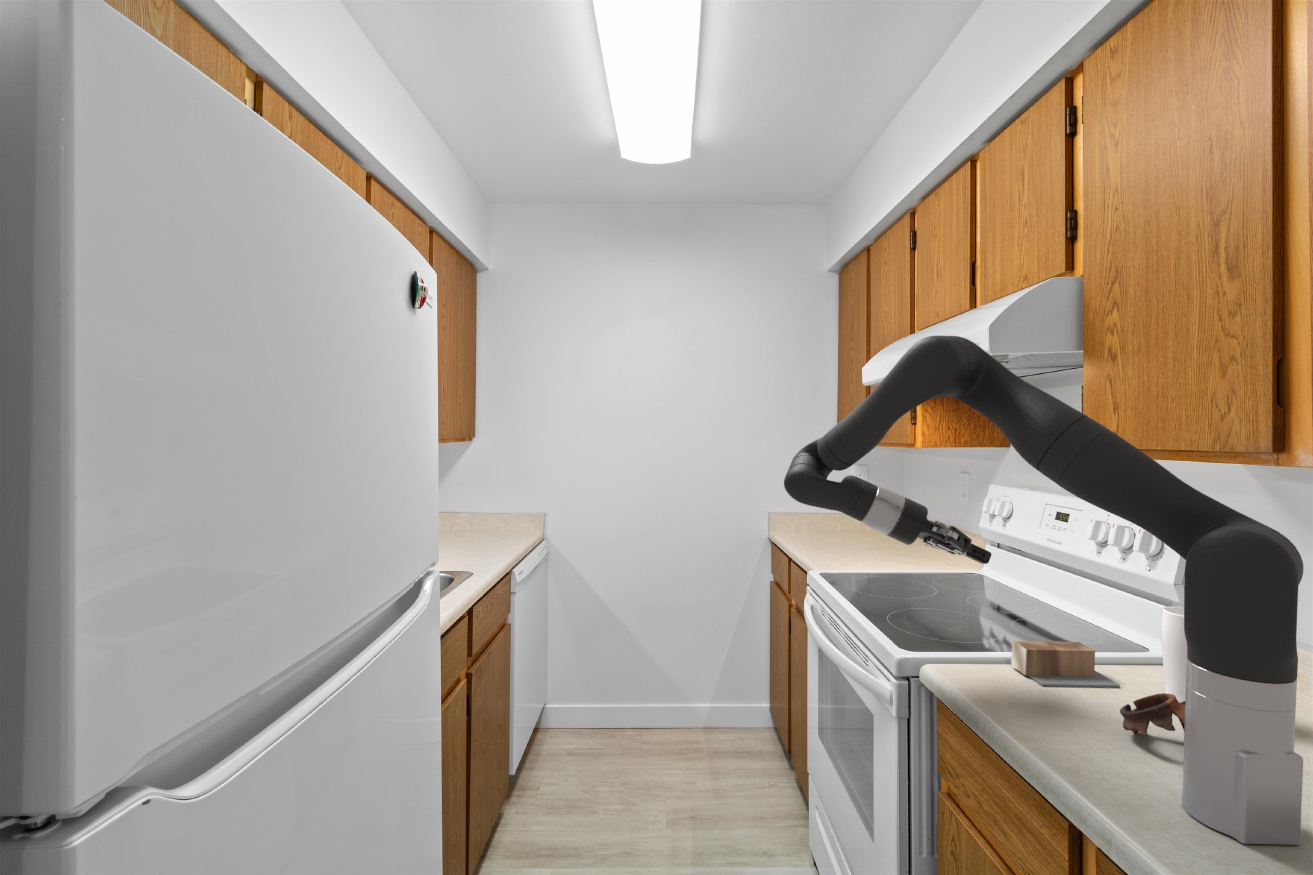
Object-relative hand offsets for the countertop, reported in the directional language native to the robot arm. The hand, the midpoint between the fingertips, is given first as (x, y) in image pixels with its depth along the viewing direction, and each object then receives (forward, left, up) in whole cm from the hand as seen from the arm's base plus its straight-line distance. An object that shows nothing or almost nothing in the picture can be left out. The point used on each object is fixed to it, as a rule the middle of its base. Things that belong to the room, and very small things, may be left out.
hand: (988, 558), depth 114 cm
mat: (+2, -14, -21) cm, 25 cm away
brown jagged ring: (-24, -14, -21) cm, 35 cm away
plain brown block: (+2, -7, -18) cm, 20 cm away
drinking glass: (-11, -26, -21) cm, 35 cm away
